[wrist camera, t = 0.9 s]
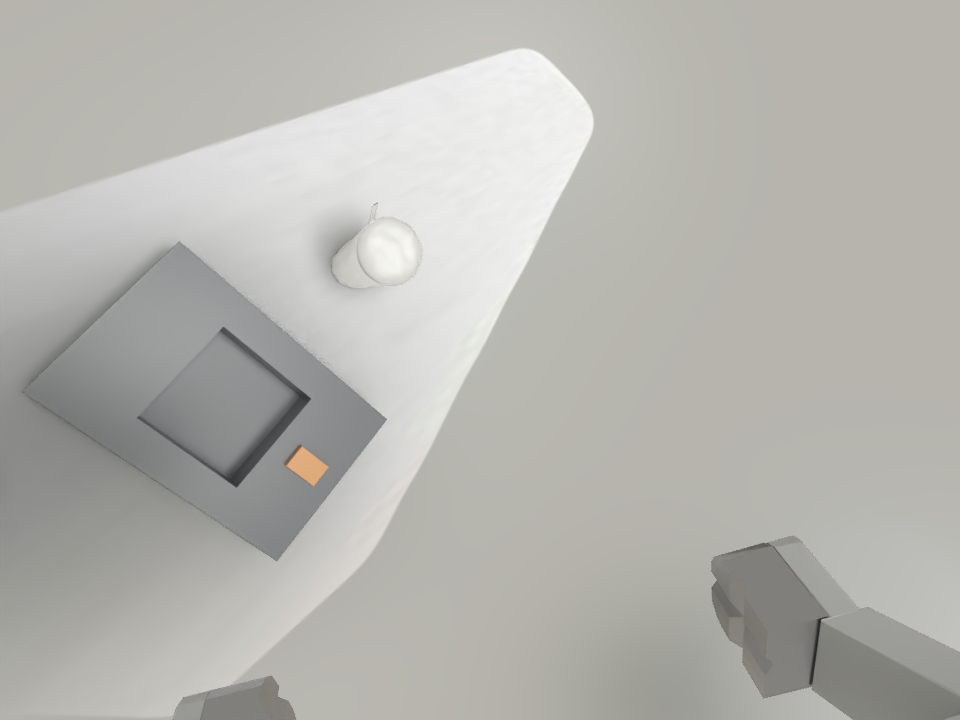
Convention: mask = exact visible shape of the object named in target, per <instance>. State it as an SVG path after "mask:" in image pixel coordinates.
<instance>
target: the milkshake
mask: <svg viewBox="0 0 960 720" xmlns="http://www.w3.org/2000/svg"><path fill="white" fill-rule="evenodd" d="M377 205H378V203H376V204H374V205H373V206H372V209H371V214H370V220H369V223H368V224H367V225H366V226H365V227H364V228H363V229H362V230H361V231H360V232H359V233H358V234H357V235H356V236H355V237H353V238H352V239H351V240H350V241H348V242H347V243H346V244H345V245H343V246H342V247H341V248H340V249H339V250H338V252H337V253H336V254H335V255H334V257H333V258H332V273H333V274H334V276H335V277H336V279H337V280H338V282H339V283H340V284H343V285H345V286H348V287H350V288H361V287H372V286H398V285H402V284H404V283H406V282H407V281H409V280H410V279H411V278H412V277H413V276H414V275H415V274H416V272H417V271H418V269H419V266H420V263H421V260H422V246H421V243H420V241H419V238H418V237H417V235H416V233H415V231H414V230H413V228H412V227H411V226H410V225H408V224H407V223H405V222H403V221H401V220H398V219H396V218H393V217H381V218H378V219H375V215H376V210H377Z"/></svg>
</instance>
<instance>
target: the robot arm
mask: <svg viewBox="0 0 960 720" xmlns="http://www.w3.org/2000/svg"><path fill="white" fill-rule="evenodd" d="M711 562H712V563H711V569H712V570H711V571H712V573H713V574H714V576H715V578H716V579H717V581H716V582H715V584H714V585H713V586H712V601H713V605H714V608H715V612H716V615H717V617H718V620H719V622H720V624H721V626H722V628H723V630H724V632H725V633H726V635H727V637H728V639H729V640H730V641H732V642H733V643H735V644H737V645H738V646H740V647H742V648H743V659H742V660H743V661H742V662H743V665H744V666H745V668H746V670H747V671H748V673H749V675H750V676H751V678H752V680H753V681H754V683H755V685H756V687H757V688H758V690H759V692H760V693H761V695H762V697H763V698H767V697H771V696H775V695H780V694H783V693H788V692H792V691H796V690H800V689H804V688H808V687H812V690H813V691H814V692H816V693H817V694H819V695H820V696H821V697H823V698H824V699H825V700H827V701H828V702H830V703H831V704H832V705H834V706H835V707H836V708H838V709H839V710H841V711H842V712H843V713H845V714H846V715H848V716H849V717H850V718H852V719H853V720H960V652H958V651H956V650H954V649H952V648H950V647H948V646H946V645H944V644H942V643H940V642H938V641H936V640H934V639H932V638H930V637H928V636H926V635H924V634H922V633H919V632H918V631H916V630H914V629H912V628H910V627H907V626H906V625H904V624H902V623H899V622H898V621H895V620H893V619H891V618H889V617H887V616H885V615H883V614H881V613H879V612H877V611H875V610H873V609H871V608H869V607H866V608H862V609H859V607H858V606H857V605H856V604H855V603H854V602H853V600H852V599H851V598H850V597H849V596H848V595H847V594H846V592H845V591H844V590H843V589H842V588H841V586H840V585H839V584H838V583H837V582H836V581H835V579H834V578H833V577H832V576H831V575H830V574H829V572H828V571H827V570H826V569H825V568H824V567H823V565H822V564H821V563H820V562H819V561H818V560H817V558H816V557H815V556H814V555H813V554H812V553H811V551H810V550H809V549H808V548H807V547H806V545H804V543H803V542H802V541H801V540H800V539H799V538H797V537H795V536H789V537H786V538H782V539H779V540H775V541H772V542H768V543H761V544H758V545H754V546H750V547H747V548H744V549H740V550H736V551H733V552H729V553H726V554H722V555H719V556H715V557H714V558H713V560H712V561H711ZM278 690H279V686H278V684H277V683H276V681H275V680H274V679H273V677H272V676H269V677H264V678H260V679H256V680H252V681H248V682H244V683H239V684H235V685H231V686H227V687H223V688H219V689H215V690H210V691H206V692H202V693H199V694H195V695H191V696H187V697H183V699H182V700H181V702H180V703H179V705H178V706H177V708H176V710H175V713H174V716H173V720H296V718H295V714H294V711H293V708H292V707H291V705H290V703H289V702H288V701H287V700H285V699H282V698H280V697H278Z"/></svg>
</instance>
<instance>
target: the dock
mask: <svg viewBox="0 0 960 720" xmlns="http://www.w3.org/2000/svg"><path fill="white" fill-rule="evenodd" d="M22 393H24V394H25V395H27V396H28V397H30V398H31V399H33V400H34V401H36V402H37V403H39V404H40V405H42V406H43V407H45V408H46V409H48V410H49V411H51V412H52V413H54V414H56V415H57V416H59V417H60V418H62V419H63V420H65V421H66V422H68V423H69V424H71V425H72V426H74V427H75V428H77V429H78V430H80V431H81V432H83V433H84V434H86V435H87V436H89V437H90V438H92V439H93V440H95V441H96V442H98V443H99V444H101V445H102V446H104V447H105V448H107V449H108V450H110V451H111V452H113V453H114V454H116V455H117V456H119V457H120V458H122V459H123V460H125V461H126V462H128V463H129V464H131V465H132V466H134V467H136V468H137V469H139V470H140V471H142V472H143V473H145V474H146V475H148V476H149V477H151V478H152V479H154V480H155V481H157V482H158V483H160V484H161V485H163V486H164V487H166V488H167V489H169V490H170V491H172V492H173V493H175V494H176V495H178V496H179V497H181V498H182V499H184V500H185V501H187V502H188V503H190V504H191V505H193V506H194V507H196V508H197V509H199V510H200V511H202V512H203V513H205V514H206V515H208V516H209V517H211V518H212V519H214V520H216V521H217V522H219V523H220V524H222V525H223V526H225V527H226V528H228V529H229V530H231V531H232V532H234V533H235V534H237V535H238V536H240V537H241V538H243V539H244V540H246V541H247V542H249V543H250V544H252V545H253V546H255V547H256V548H258V549H259V550H261V551H262V552H264V553H265V554H267V555H268V556H270V557H271V558H273V559H274V560H276V561H278V559H279V558H280V557H281V555H282V554H283V553H284V552H285V550H286V549H287V548H288V546H289V545H290V544H291V543H292V541H293V540H294V539H295V537H296V536H297V535H298V534H299V532H300V531H301V530H302V528H303V527H304V526H305V524H306V523H307V522H308V521H309V519H310V518H311V517H312V515H313V514H314V513H315V512H316V510H317V509H318V508H319V506H320V505H321V504H322V503H323V501H324V500H325V499H326V497H327V496H328V495H329V494H330V492H331V491H332V490H333V488H334V487H335V486H336V485H337V483H338V482H339V481H340V479H341V478H342V477H343V475H344V474H345V473H346V472H347V470H348V469H349V468H350V466H351V465H352V464H353V463H354V461H355V460H356V459H357V457H358V456H359V455H360V454H361V452H362V451H363V450H364V448H365V447H366V446H367V445H368V443H369V442H370V441H371V439H372V438H373V437H374V435H375V434H376V433H377V432H378V430H379V429H380V428H381V426H382V425H383V424H384V423H385V421H386V420H387V419H386V418H385V417H384V416H382V415H381V414H380V413H379V412H378V411H377V410H375V409H374V408H373V407H372V406H371V405H370V404H368V403H367V402H366V401H365V400H364V399H363V398H361V397H360V396H359V395H358V394H357V393H356V392H354V391H353V390H352V389H351V388H350V387H349V386H347V385H346V384H345V383H344V382H343V381H342V380H340V379H339V378H338V377H337V376H336V375H335V374H333V373H332V372H331V371H330V370H329V369H328V368H326V367H325V366H324V365H323V364H322V363H321V362H319V361H318V360H317V359H316V358H315V357H314V356H312V355H311V354H310V353H309V352H308V351H307V350H305V349H304V348H303V347H302V346H301V345H300V344H298V343H297V342H296V341H295V340H294V339H293V338H292V337H290V336H289V335H288V334H287V333H286V332H285V331H283V330H282V329H281V328H280V327H279V326H278V325H276V324H275V323H274V322H273V321H272V320H271V319H269V318H268V317H267V316H266V315H265V314H264V313H262V312H261V311H260V310H259V309H258V308H257V307H255V306H254V305H253V304H252V303H251V302H250V301H248V300H247V299H246V298H245V297H244V296H243V295H241V294H240V293H239V292H238V291H237V290H236V289H234V288H233V287H232V286H231V285H230V284H229V283H227V282H226V281H225V280H224V279H223V278H222V277H220V276H219V275H218V274H217V273H216V272H215V271H213V270H212V269H211V268H210V267H209V266H208V265H206V264H205V263H204V262H203V261H202V260H201V259H200V258H198V257H197V256H196V255H195V254H194V253H193V252H191V251H190V250H189V249H188V248H187V247H186V246H184V245H183V244H182V243H181V242H180V241H179V242H178V243H177V244H176V245H175V246H174V247H173V248H172V249H171V250H170V251H169V252H168V253H167V254H166V255H165V256H164V257H163V258H161V259H160V260H159V261H158V262H157V263H156V264H155V265H154V266H153V267H152V268H151V269H150V270H149V271H148V272H147V273H146V274H145V275H144V276H143V277H142V278H141V279H139V280H138V281H137V282H136V283H135V284H134V285H133V286H132V287H131V288H130V289H129V290H128V291H127V292H126V293H125V294H124V295H123V296H122V297H121V298H120V299H119V300H117V301H116V302H115V303H114V304H113V305H112V306H111V307H110V308H109V309H108V310H107V311H106V312H105V313H104V314H103V315H102V316H101V317H100V318H99V319H98V320H97V321H95V322H94V323H93V324H92V325H91V326H90V327H89V328H88V329H87V330H86V331H85V332H84V333H83V334H82V335H81V336H80V337H79V338H78V339H77V340H76V341H75V342H73V343H72V344H71V345H70V346H69V347H68V348H67V349H66V350H65V351H64V352H63V353H62V354H61V355H60V356H59V357H58V358H57V359H56V360H55V361H54V362H53V363H51V364H50V365H49V366H48V367H47V368H46V369H45V370H44V371H43V372H42V373H41V374H40V375H39V376H38V377H37V378H36V379H35V380H34V381H33V382H32V383H31V384H29V385H28V386H27V387H26V388H25V389H24V390H23V391H22Z"/></svg>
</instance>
